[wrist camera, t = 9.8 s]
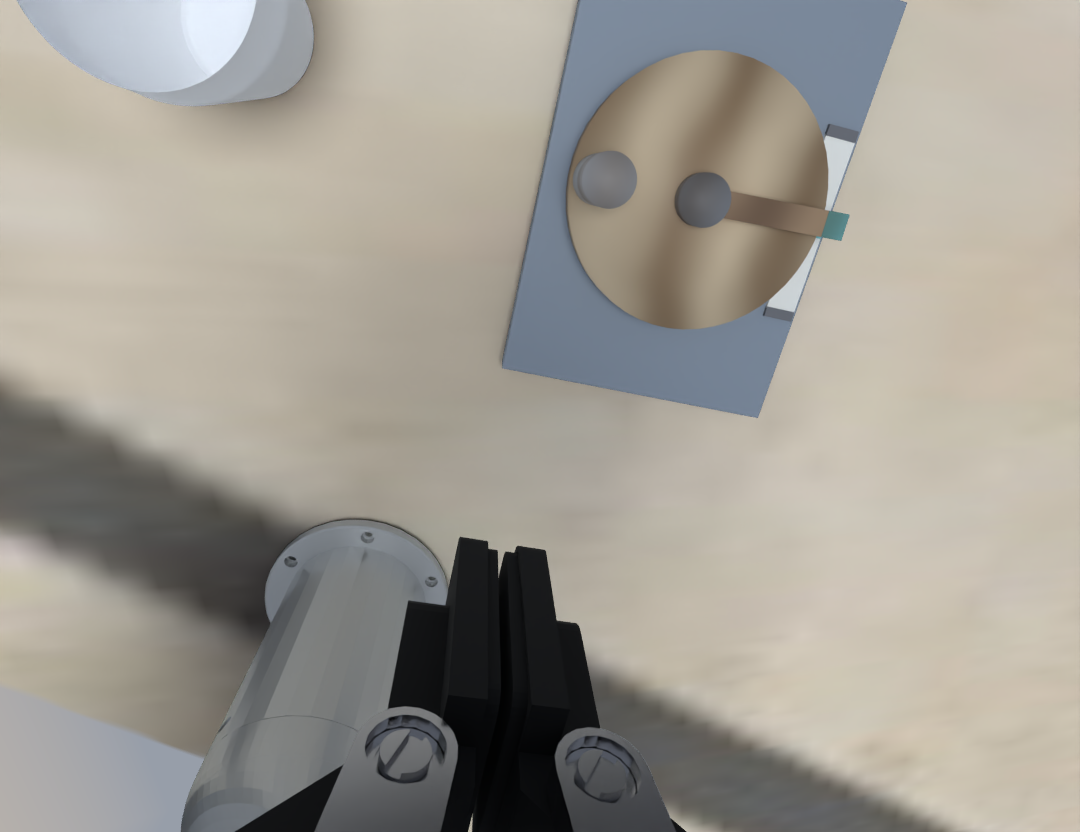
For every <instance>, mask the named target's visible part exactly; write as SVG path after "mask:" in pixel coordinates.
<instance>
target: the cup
mask: <svg viewBox="0 0 1080 832" xmlns="http://www.w3.org/2000/svg"><path fill="white" fill-rule="evenodd" d="M17 2H18V3H19V5H20V7H21V8H22V10H23V11H24V13H25V14H26V16H27V17H28V19H29V20H30V22H31V23H32V24H33V25H34V27H35V28H36V29H37V30H38V31H39V33H40V34H41V35H42V36H43V37H44V38H45V39H46V40H47V41H48V42H49V43H50V45H52V46H53V47H54V48H55V49H56V50H57V51H58V52H59V53H60V54H61V55H63V56H64V57H65V58H66V59H68V60H69V61H70V62H72V63H73V64H74V65H76V66H77V67H79V68H81V69H82V70H84V71H85V72H87V73H89V74H91V75H92V76H94V77H96V78H98V79H101V80H103V81H105V82H107V83H110V84H113V85H116V86H119V87H122V88H125V89H127V90H130V91H133V92H135V93H137V94H140V95H142V96H144V97H147V98H149V99H152V100H155V101H159V102H163V103H167V104H173V105H180V106H207V105H216V104H225V103H233V102H241V101H249V100H257V99H264V98H270V97H274V96H277V95H280V94H282V93H284V92H286V91H287V90H289V89H290V88H292V87H293V86H294V85H295V84H296V83H297V82H298V81H299V80H300V79H301V77H302V76H303V74H304V73H305V71H306V69H307V67H308V65H309V62H310V60H311V56H312V51H313V44H314V31H313V24H312V19H311V15H310V11H309V9H308V6H307V4H306V1H305V0H17Z"/></svg>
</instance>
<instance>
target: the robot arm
mask: <svg viewBox="0 0 1080 832" xmlns="http://www.w3.org/2000/svg"><path fill="white" fill-rule="evenodd" d="M367 532H370V534H369V533H367ZM264 599H265V607H266V613H267V616H268V618H269V621H270V626H269V628H268V630H267V632H266V634H265V637H264V639H263V641H262V643H261V645H260V647H259V649H258V651H257V653H256V655H255V657H254V659H253V661H252V663H251V665H250V667H249V669H248V671H247V673H246V675H245V678H244V680H243V682H242V684H241V686H240V688H239V690H238V692H237V694H236V696H235V698H234V700H233V702H232V704H231V706H230V708H229V710H228V712H227V714H226V716H225V719H224V721H223V723H222V725H221V727H220V729H219V731H218V733H217V735H216V737H215V739H214V741H213V743H212V745H211V747H210V749H209V751H208V753H207V755H206V757H205V760H204V761H203V763H202V766H201V768H200V770H199V772H198V774H197V776H196V778H195V780H194V783H193V785H192V787H191V789H190V792H189V795H188V798H187V801H186V804H185V809H184V814H183V818H182V824H181V832H468V829H469V825H470V821H471V817H472V813H473V823H472V832H686V831H685V830H684V829H683V828H681V827H680V826H679V825H678V824H677V823H676V822H674V821H673V820H672V819H671V818H670V816H669V814H668V811H667V809H666V807H665V804H664V802H663V800H662V797H661V795H660V793H659V790H658V788H657V786H656V783H655V781H654V779H653V776H652V774H651V772H650V769H649V767H648V765H647V764H646V762H645V760H644V758H643V757H642V755H641V753H640V752H639V751H638V750H637V749H636V748H635V747H634V746H633V745H632V744H631V743H630V742H628V741H627V740H625V739H624V738H622V737H621V736H619V735H617V734H615V733H613V732H610V731H607V730H605V729H600V725H599V720H598V715H597V711H596V706H595V701H594V696H593V691H592V686H591V681H590V676H589V671H588V666H587V661H586V656H585V651H584V646H583V641H582V636H581V632H580V628H579V626H578V625H577V624H576V623H570V622H563V621H557V620H556V614H555V607H554V601H553V594H552V588H551V581H550V575H549V568H548V562H547V555H546V551H545V550H541V549H535V548H528V547H522V546H517V547H516V550H515V553H511V552H505V554H504V557H503V561H502V566H501V570H500V574H499V578H498V551H497V550H492V549H488V541H483V540H476V539H470V538H463V537H460V538H459V541H458V546H457V551H456V555H455V560H454V565H453V570H452V575H451V579H450V584H449V589H448V587H447V583H446V579H445V575H444V573H443V571H442V569H441V567H440V565H439V563H438V561H437V560H436V558H435V557H434V556H433V555H432V553H431V552H430V551H429V550H428V549H427V548H426V547H425V546H424V545H423V544H422V543H420V542H419V541H418V540H417V539H416V538H414V537H412V536H411V535H409V534H407V533H406V532H404V531H402V530H400V529H398V528H395V527H392V526H390V525H387V524H384V523H379V522H374V521H369V520H342V521H335V522H330V523H326V524H323V525H320V526H317V527H314V528H312V529H310V530H309V531H307V532H305V533H303V534H301V535H299V536H298V537H297V538H296V539H295V540H293V541H292V542H291V543H290V544H288V545H287V546H286V548H285V549H284V550H283V551H282V553H281V554H280V555H279V556H278V558H277V560H276V562H275V564H274V565H273V567H272V569H271V571H270V574H269V576H268V579H267V582H266V587H265V598H264Z"/></svg>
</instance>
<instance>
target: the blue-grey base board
mask: <svg viewBox="0 0 1080 832" xmlns="http://www.w3.org/2000/svg"><path fill="white" fill-rule="evenodd" d="M906 5H907V2H903V1H900V0H578V4H577V8H576V13H575V18H574V23H573V27H572V32H571V37H570V41H569V46H568V51H567V56H566V60H565V65H564V70H563V75H562V79H561V84H560V89H559V94H558V98H557V103H556V108H555V113H554V117H553V122H552V127H551V132H550V136H549V141H548V146H547V150H546V155H545V160H544V165H543V169H542V174H541V179H540V184H539V188H538V193H537V198H536V203H535V207H534V212H533V217H532V222H531V226H530V231H529V236H528V241H527V245H526V250H525V255H524V259H523V264H522V269H521V274H520V278H519V283H518V288H517V293H516V297H515V302H514V307H513V312H512V316H511V321H510V326H509V331H508V335H507V340H506V345H505V349H504V354H503V359H502V368H504V369H509V370H514V371H519V372H524V373H530V374H535V375H540V376H545V377H550V378H555V379H560V380H565V381H571V382H576V383H581V384H586V385H591V386H596V387H601V388H606V389H612V390H617V391H622V392H627V393H632V394H637V395H642V396H648V397H653V398H658V399H663V400H668V401H673V402H678V403H683V404H689V405H694V406H699V407H704V408H709V409H714V410H719V411H725V412H730V413H735V414H740V415H745V416H750V417H755V418H758V416H759V413H760V410H761V407H762V404H763V402H764V399H765V396H766V393H767V391H768V388H769V385H770V382H771V379H772V377H773V374H774V371H775V368H776V366H777V363H778V360H779V357H780V354H781V352H782V349H783V346H784V343H785V341H786V338H787V335H788V332H789V329H790V327H791V324H792V321H793V318H794V316H795V313H796V310H797V307H798V304H799V302H800V299H801V296H802V293H803V291H804V288H805V285H806V282H807V280H808V277H809V274H810V271H811V268H812V266H813V263H814V260H815V257H816V255H817V252H818V249H819V246H820V243H821V241H822V238H823V237H818V236H816V239H815V241H814V243H813V245H812V247H811V249H810V251H809V253H808V255H807V257H806V258H805V260H804V261H803V263H802V264H801V266H800V267H799V269H798V270H797V272H796V273H795V274H794V275H793V277H792V278H791V279H790V280H789V281H788V282H787V284H786V285H785V286H784V287H783V288H782V289H781V290H780V291H778V292H777V293H776V294H775V295H774V296H773V297H772V298H771V299H769V300H768V301H767V302H765V303H764V304H763V305H761V306H760V307H758V308H757V309H755V310H753V311H752V312H750V313H748V314H746V315H745V316H742V317H740V318H738V319H735V320H733V321H731V322H728V323H724V324H721V325H718V326H714V327H708V328H702V329H684V330H683V329H673V328H666V327H661V326H657V325H653V324H650V323H648V322H645V321H642V320H640V319H637V318H636V317H634V316H632V315H630V314H628V313H627V312H625V311H623V310H622V309H621V308H619V307H618V306H617V305H615V304H614V303H613V302H611V301H610V300H609V299H608V298H607V297H606V296H605V295H604V294H603V293H602V292H601V291H600V290H599V289H598V288H597V287H596V285H595V284H594V283H593V281H592V280H591V279H590V277H589V276H588V275H587V273H586V272H585V270H584V268H583V266H582V265H581V263H580V261H579V259H578V257H577V254H576V252H575V249H574V247H573V244H572V241H571V237H570V233H569V229H568V223H567V215H566V187H567V179H568V173H569V169H570V165H571V161H572V157H573V154H574V151H575V149H576V146H577V144H578V141H579V139H580V137H581V135H582V133H583V131H584V129H585V127H586V125H587V123H588V122H589V121H590V119H591V118H592V116H593V115H594V113H595V112H596V110H597V109H598V108H599V107H600V105H601V104H602V103H603V102H604V101H605V100H606V99H607V98H608V96H609V95H610V94H611V93H612V92H614V91H615V90H616V89H617V88H618V87H619V86H621V85H622V84H623V83H624V82H625V81H627V80H628V79H630V78H631V77H633V76H634V75H636V74H637V73H639V72H640V71H642V70H643V69H645V68H646V67H648V66H650V65H652V64H654V63H657V62H659V61H661V60H663V59H665V58H669V57H672V56H675V55H678V54H681V53H687V52H693V51H700V50H721V51H727V52H734V53H739V54H742V55H745V56H748V57H751V58H754V59H756V60H758V61H760V62H762V63H764V64H766V65H768V66H770V67H771V68H773V69H774V70H776V71H777V72H779V73H780V74H781V75H783V76H784V77H785V78H786V79H787V80H788V81H789V82H790V83H791V84H792V85H793V86H794V87H795V88H796V89H797V90H798V91H799V93H800V94H801V95H802V96H803V98H804V99H805V100H806V102H807V103H808V105H809V107H810V109H811V110H812V112H813V114H814V116H815V117H816V120H817V122H818V125H819V128H820V130H821V133H822V136H823V140H824V144H825V148H826V152H827V162H828V193H827V201H826V207H825V210H828V211H832V210H833V207H834V205H835V202H836V199H837V196H838V193H839V191H840V188H841V185H842V182H843V180H844V177H845V174H846V171H847V168H848V166H849V163H850V160H851V157H852V155H853V152H854V149H855V146H856V143H857V141H858V138H859V135H860V132H861V130H862V127H863V124H864V121H865V118H866V116H867V113H868V110H869V107H870V105H871V102H872V99H873V96H874V94H875V91H876V88H877V85H878V82H879V80H880V77H881V74H882V71H883V69H884V66H885V63H886V60H887V57H888V55H889V52H890V49H891V46H892V44H893V41H894V38H895V35H896V32H897V30H898V27H899V24H900V21H901V19H902V16H903V13H904V10H905V7H906Z"/></svg>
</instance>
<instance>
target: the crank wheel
mask: <svg viewBox="0 0 1080 832" xmlns="http://www.w3.org/2000/svg"><path fill="white" fill-rule="evenodd" d="M827 193H828V162H827V152H826V148H825V144H824V140H823V136H822V133H821V130H820V128H819V125H818V122H817V120H816V117H815V116H814V114H813V112H812V110H811V109H810V107H809V105H808V103H807V102H806V100H805V99H804V98H803V96H802V95H801V94H800V93H799V91H798V90H797V89H796V88H795V87H794V86H793V85H792V84H791V83H790V82H789V81H788V80H787V79H786V78H785V77H784V76H783V75H781V74H780V73H779V72H777V71H776V70H774V69H773V68H771V67H770V66H768V65H766V64H764V63H762V62H760V61H758V60H756V59H754V58H751V57H748V56H745V55H742V54H739V53H734V52H727V51H721V50H700V51H693V52H687V53H681V54H678V55H675V56H672V57H669V58H665V59H663V60H661V61H659V62H657V63H654V64H652V65H650V66H648V67H646V68H645V69H643V70H642V71H640V72H639V73H637V74H636V75H634V76H633V77H631V78H630V79H628V80H627V81H625V82H624V83H623V84H622V85H621V86H619V87H618V88H617V89H616V90H615V91H614V92H612V93H611V94H610V95H609V96H608V98H607V99H606V100H605V101H604V102H603V103H602V104H601V105H600V107H599V108H598V109H597V110H596V112H595V113H594V115H593V116H592V118H591V119H590V121H589V122H588V123H587V125H586V127H585V129H584V131H583V133H582V135H581V137H580V139H579V141H578V144H577V146H576V149H575V151H574V154H573V157H572V161H571V165H570V169H569V173H568V179H567V187H566V215H567V223H568V229H569V233H570V237H571V241H572V244H573V247H574V249H575V252H576V254H577V257H578V259H579V261H580V263H581V265H582V266H583V268H584V270H585V272H586V273H587V275H588V276H589V277H590V279H591V280H592V281H593V283H594V284H595V285H596V287H597V288H598V289H599V290H600V291H601V292H602V293H603V294H604V295H605V296H606V297H607V298H608V299H609V300H610V301H611V302H613V303H614V304H615V305H617V306H618V307H619V308H621V309H622V310H623V311H625V312H627V313H628V314H630V315H632V316H634V317H636V318H637V319H640V320H642V321H645V322H648V323H650V324H653V325H657V326H661V327H666V328H673V329H683V330H684V329H702V328H708V327H714V326H718V325H721V324H724V323H728V322H731V321H733V320H735V319H738V318H740V317H742V316H745V315H746V314H748V313H750V312H752V311H753V310H755V309H757V308H758V307H760V306H761V305H763V304H764V303H765V302H767V301H768V300H769V299H771V298H772V297H773V296H774V295H775V294H776V293H777V292H778V291H780V290H781V289H782V288H783V287H784V286H785V285H786V284H787V282H788V281H789V280H790V279H791V278H792V277H793V275H794V274H795V273H796V272H797V270H798V269H799V267H800V266H801V264H802V263H803V261H804V260H805V258H806V257H807V255H808V253H809V251H810V249H811V247H812V245H813V243H814V241H815V239H816V236H818V237H824V238H829V239H834V240H840V241H841V240H842V237H843V234H844V230H845V227H846V224H847V221H848V218H849V215H848V214H843V213H838V212H833V211H828V210H825V207H826V201H827Z"/></svg>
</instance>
